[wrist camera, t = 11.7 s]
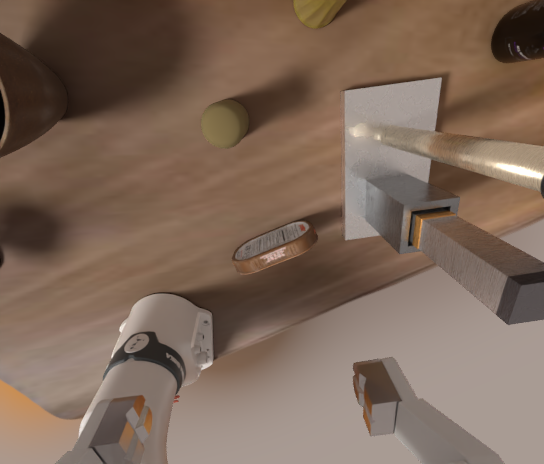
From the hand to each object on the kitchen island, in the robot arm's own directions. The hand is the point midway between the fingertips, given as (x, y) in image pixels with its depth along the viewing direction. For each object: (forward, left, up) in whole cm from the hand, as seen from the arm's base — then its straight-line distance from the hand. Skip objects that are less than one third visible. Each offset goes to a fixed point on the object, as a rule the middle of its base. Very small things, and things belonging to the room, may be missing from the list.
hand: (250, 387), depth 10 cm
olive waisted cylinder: (+8, +2, -37) cm, 38 cm away
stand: (-2, -22, -37) cm, 43 cm away
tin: (-12, -2, -37) cm, 39 cm away
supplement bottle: (+14, -40, -37) cm, 56 cm away
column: (-7, -22, -29) cm, 37 cm away
